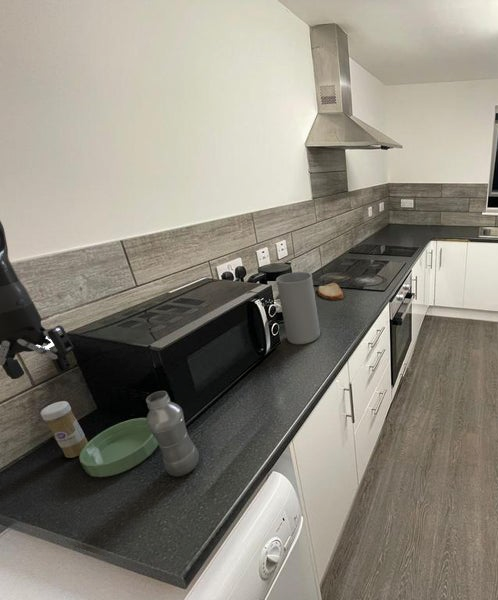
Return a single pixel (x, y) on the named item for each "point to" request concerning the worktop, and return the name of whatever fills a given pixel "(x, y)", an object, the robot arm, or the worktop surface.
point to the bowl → (118, 448)
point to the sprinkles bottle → (65, 428)
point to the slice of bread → (330, 292)
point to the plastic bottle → (171, 434)
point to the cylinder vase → (298, 307)
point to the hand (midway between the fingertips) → (41, 374)
